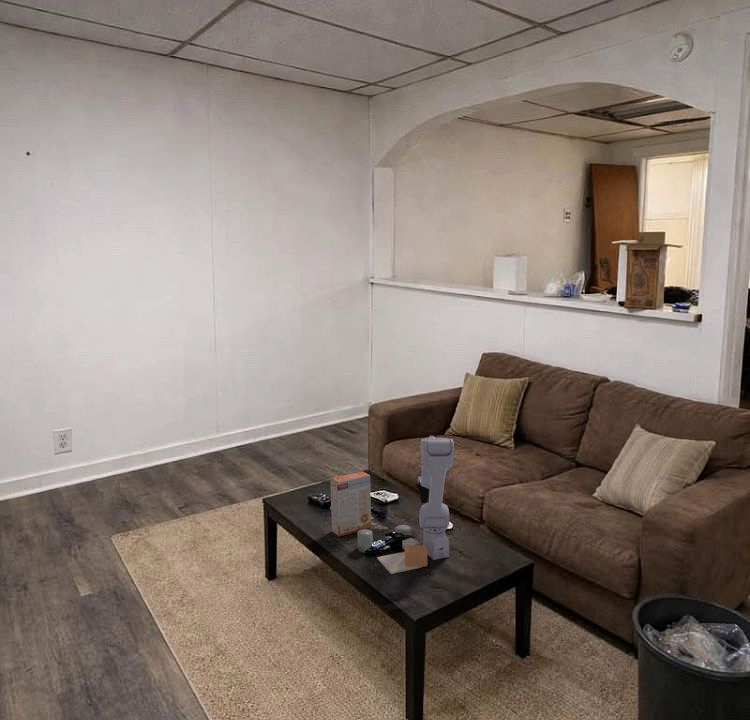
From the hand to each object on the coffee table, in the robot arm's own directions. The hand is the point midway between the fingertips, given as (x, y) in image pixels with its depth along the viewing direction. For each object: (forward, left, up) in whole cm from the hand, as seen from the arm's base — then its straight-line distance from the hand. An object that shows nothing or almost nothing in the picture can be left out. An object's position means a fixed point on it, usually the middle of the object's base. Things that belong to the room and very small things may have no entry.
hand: (428, 506), depth 230 cm
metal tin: (-11, +13, -10) cm, 19 cm away
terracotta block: (-20, +19, -6) cm, 28 cm away
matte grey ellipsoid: (+1, +10, -10) cm, 14 cm away
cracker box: (+12, +26, -10) cm, 30 cm away
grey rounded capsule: (-4, +27, -10) cm, 29 cm away
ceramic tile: (-18, +21, -9) cm, 29 cm away
